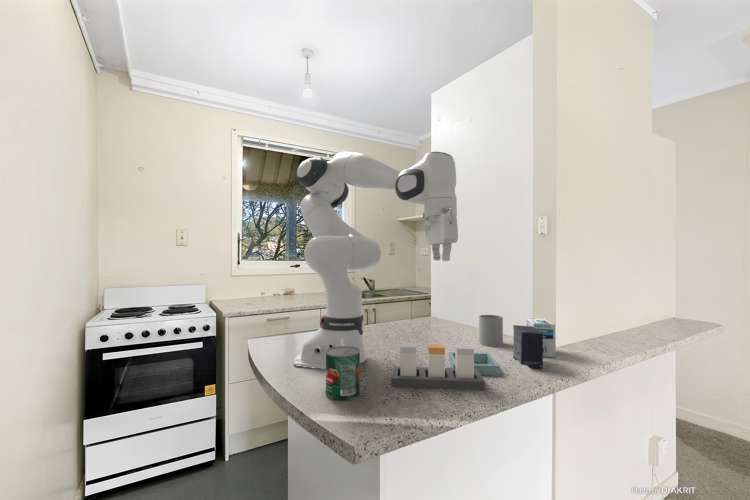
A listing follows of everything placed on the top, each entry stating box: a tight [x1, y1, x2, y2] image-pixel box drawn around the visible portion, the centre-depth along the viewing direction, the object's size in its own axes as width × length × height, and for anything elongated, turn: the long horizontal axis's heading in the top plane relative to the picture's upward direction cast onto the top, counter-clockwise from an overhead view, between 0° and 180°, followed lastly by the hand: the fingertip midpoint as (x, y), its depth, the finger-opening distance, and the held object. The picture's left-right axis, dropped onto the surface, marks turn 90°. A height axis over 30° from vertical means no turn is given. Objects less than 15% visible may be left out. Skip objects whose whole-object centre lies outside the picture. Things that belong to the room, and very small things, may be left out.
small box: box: [512, 324, 544, 370], centre depth 105 cm, size 11×6×10 cm, turn 171°
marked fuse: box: [427, 342, 446, 377], centre depth 87 cm, size 4×4×9 cm
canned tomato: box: [325, 346, 361, 402], centre depth 79 cm, size 8×8×11 cm
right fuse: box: [454, 343, 475, 378], centre depth 86 cm, size 4×4×9 cm
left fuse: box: [399, 342, 417, 376], centre depth 88 cm, size 4×4×9 cm
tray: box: [448, 351, 501, 376], centre depth 98 cm, size 12×12×4 cm
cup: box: [478, 314, 504, 348], centre depth 127 cm, size 8×8×10 cm
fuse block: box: [391, 365, 486, 391], centre depth 87 cm, size 22×9×3 cm, turn 84°
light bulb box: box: [526, 317, 557, 358], centre depth 116 cm, size 11×7×11 cm, turn 168°
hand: (441, 260), depth 95 cm, fingers open, 8 cm apart
